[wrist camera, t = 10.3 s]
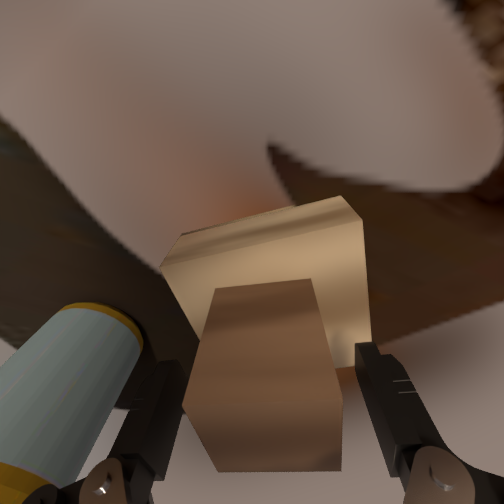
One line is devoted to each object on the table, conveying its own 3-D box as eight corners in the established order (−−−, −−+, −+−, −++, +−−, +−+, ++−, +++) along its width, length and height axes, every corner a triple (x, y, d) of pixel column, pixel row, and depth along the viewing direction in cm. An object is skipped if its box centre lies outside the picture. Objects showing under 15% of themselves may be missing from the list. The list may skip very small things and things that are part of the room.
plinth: (181, 233, 16) (159, 267, 13) (338, 193, 14) (362, 220, 11) (230, 337, 21) (223, 382, 17) (353, 317, 19) (373, 363, 15)
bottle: (78, 355, 22) (-183, 698, 9) (45, 295, 19) (-444, 708, 6) (154, 358, 22) (-7, 718, 9) (135, 297, 18) (-174, 740, 6)
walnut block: (215, 288, 13) (181, 405, 8) (310, 278, 12) (342, 398, 7) (234, 350, 16) (218, 472, 10) (314, 345, 15) (341, 471, 10)
